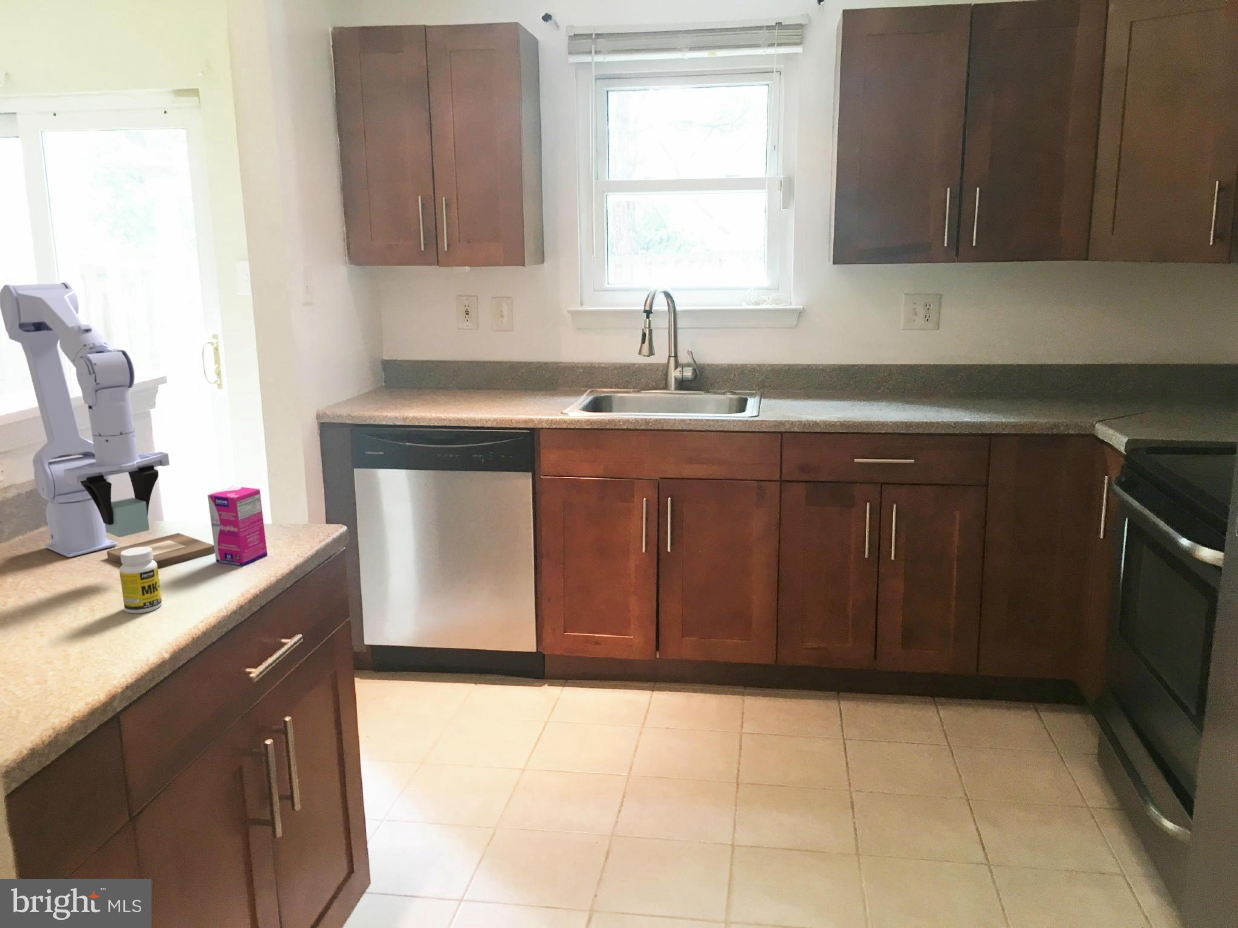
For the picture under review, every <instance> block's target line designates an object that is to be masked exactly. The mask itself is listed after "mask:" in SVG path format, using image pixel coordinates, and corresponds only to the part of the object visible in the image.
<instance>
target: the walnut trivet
mask: <svg viewBox="0 0 1238 928" xmlns="http://www.w3.org/2000/svg"><path fill="white" fill-rule="evenodd" d="M135 547H150V548H152V552H153V559H152V560H153V561H155V562H156V563H157V568H158V569H160V568H165V567H168V566H172V565H175V564H178V563H182V562H186V561H189V560H194V559H197V558H200V557H203V556H204V557H205V556H208V555H211V554H215V550H214V544H211V543H209V542H206V541H203V540H200V539H197V538H194V537H191V536H188V535H185V534H182V533H180V532H177V533H173V534H168V535H166V536H165V535H164V536H161V537H157V538H153V539H148V540H144V541H141V542H136V543H132V544H129V545H124V546H122V547H118V548H113V549H109V550H106V554H107V559H109V560H111V561H114V562H116V563H119V564H121V565H123V564H122V563H121V556H120V553H121V552H122V551H124V550H127V549H130V548H135Z"/></svg>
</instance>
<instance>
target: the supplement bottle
mask: <svg viewBox="0 0 1238 928" xmlns="http://www.w3.org/2000/svg"><path fill="white" fill-rule="evenodd" d="M120 556H121V563H122V564H121V563H120V564H121V566H120V567H119V569H118V570H119V577H120V585H121V591H122V593H121V594H122V600H123V607H124V610H125V612H126V613H129V614H144V613H149V612H152V611H155V610H157V609H158V608H160V607H161V606H162V604H163V600H162V593H161V584H160V578H159V568H157V563H156V562H155V561H153V560H152V559H153V552H152V548H150V547H135V548H130V549H127V550H124V551H122V552H121V553H120Z"/></svg>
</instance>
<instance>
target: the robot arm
mask: <svg viewBox="0 0 1238 928" xmlns="http://www.w3.org/2000/svg"><path fill="white" fill-rule="evenodd" d="M0 312H1V313H0V314H1V316H2V320H3V324H4V328H5V330H6V333H7V335H8V338H9V340H11V341H15V342H17V343H20V345H21V348H22V350H23V353H24V355H25V358H26V361H27V366H28V369H29V370H28V371H29V374H30V378H31V381H32V385H33V390H34V394H35V397H36V401H37V405H38V409H39V412H40V416H41V421H42V425H43V429H44V433H45V436H46V440H47V442H46V443H45V444H44V445H42V447H41V448H40V449H39V450H37V451H36V452H35V453H34V456H33V458H32V465H33V470H34V471H33V476H34V477H33V478H34V482H35V483H34V484H35V487H36V490H37V492H38V494H39V495H40V497H42V498H43V499H44V500H46V501H48V503H47V505H46V508H45V515H46V522H47V528H48V534H49V540H50V541H49V543H46V544H45V545H44V547H45V548H46V549H48V550H51V551H53V552H54V553H57V554H60V555H62V556H64V557H66V558H71V557H75V556H79V555H83V554H88V553H92V552H95V551H100V550H103V549H107V548H112V547H115V546H118V542H116V541H115V540H111V539H109V538H107V532H106V528H105V524H108V525H112V524H114V518H113V510H112V505H111V502H112V483H111V482H110V480H111V479H110V477H111V476H114V475H119V474H126V473H128V476H129V479H130V482H131V486H132V490H133V495H134V498H136V499H138V500H141V501H144V502H146V508H147V515H148V516H149V507H150V501H151V497H152V493H153V489H154V487H155V485H156V482H157V480H158V478H159V470H158V469H155V468H157V467H165V466H167V467H168V466H170V457H169V452H168V453H167V452H165V451H159V452H153V453H143V454H139V450H138V444H137V438H136V437H137V436H136V431H135V422H134V415H133V407H132V398H131V392H130V389H132V388H133V386H134V385H135V380H136V379H135V377H136V376H135V369H134V367H135V366H134V364H133V361H132V358H131V356H130V355H129V354H128V352H127V351H126V350H125V349H119V348H112V347H111V346H110V344H109V343H108V342H107V341H106V340H105V338H104V337H103V335H101V334H100V332H99V331H98V330H97V329H96V328H95V327H94V326H92V325H90V324H84V323H83V321H82V320H81V318H80V316H79V315H78V313H79V300H78V295H77V293H76V290H75V289H74V288H73V286H71V285H70V283H68V282H66V281H65V282H60V283H41V284H19V285H15V284H13V285H11V284H5V285H3V287H2V288H1V289H0ZM58 344H59V348H60V350H61V351H62V352H63V354H64V355H65V357H66V358H67V359H68V360H69V361H70V362H71V364H72V365H73V366H74V368H75V375H76V379H77V383H78V385H79V388H80V392H81V395H82V400H83V401H84V402H83V403H84V404H86V405H87V410H88V417H89V424H90V431H91V437H92V438H91V439H92V441H90V440H89V439H86V438H84V437H82V436H81V433H80V429H79V426H78V422H77V418H76V414H75V409H74V407H73V402H72V398H71V394H70V390H69V385H68V383H67V379H66V376H65V375H66V373H65V371H64V367H63V364H62V359H61V354H60V351H59V348H58ZM75 456H76V457H75ZM69 457H71V458H69ZM62 458H65V459H62ZM57 459H59V460H57ZM51 460H52V461H51Z"/></svg>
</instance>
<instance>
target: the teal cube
mask: <svg viewBox="0 0 1238 928" xmlns="http://www.w3.org/2000/svg"><path fill="white" fill-rule="evenodd" d="M111 505H112V510H113V518H114V524H112V525H108V524H105V523H104V525H105V531H106V534H109V535H112V536H115V537H118V538H123V537H126V536H131V535H135V534H139V533H143V532H146V531H147V532H148V531H150V524H149V523H150V522H149V518H148V516H149V514H148V515H147V508H146V502H144V501H141V500H138V499H136V498H135V497H128V498H122V499H117V500H111Z"/></svg>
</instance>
